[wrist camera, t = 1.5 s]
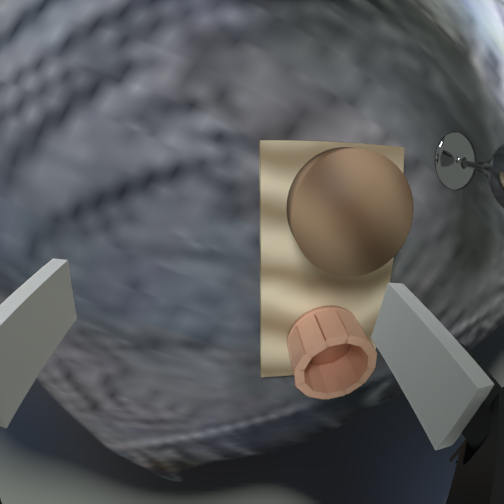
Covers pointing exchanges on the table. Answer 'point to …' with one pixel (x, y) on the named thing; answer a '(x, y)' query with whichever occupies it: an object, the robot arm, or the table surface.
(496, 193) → the wine glass
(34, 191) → the table surface
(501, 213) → the table surface
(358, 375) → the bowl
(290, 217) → the lid
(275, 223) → the serving board
